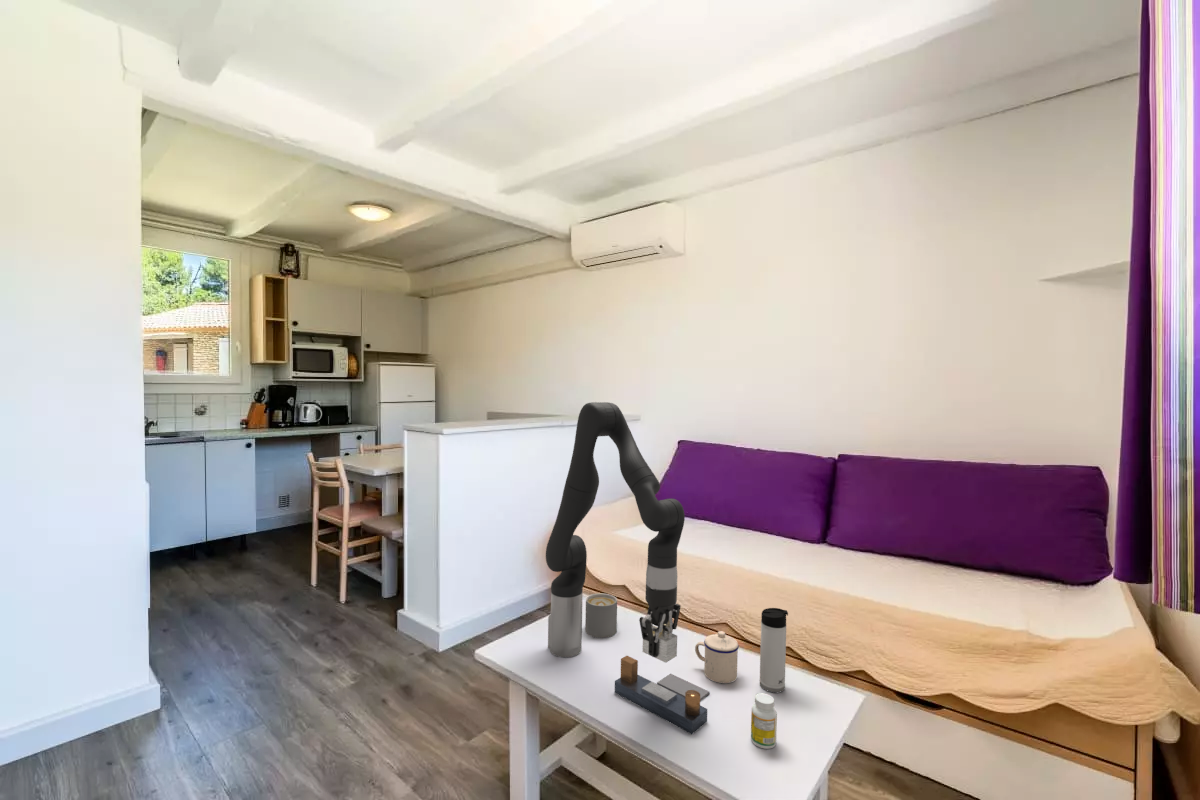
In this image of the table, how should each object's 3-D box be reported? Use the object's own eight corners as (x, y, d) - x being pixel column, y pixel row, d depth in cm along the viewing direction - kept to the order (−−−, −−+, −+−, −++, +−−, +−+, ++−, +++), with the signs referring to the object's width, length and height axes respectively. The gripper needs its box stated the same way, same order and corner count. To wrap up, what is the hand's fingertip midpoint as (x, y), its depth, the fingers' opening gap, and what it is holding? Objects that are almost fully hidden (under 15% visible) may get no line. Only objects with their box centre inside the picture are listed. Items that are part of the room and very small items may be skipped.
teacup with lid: (742, 673, 143) (743, 630, 143) (730, 688, 136) (731, 643, 136) (701, 659, 150) (702, 619, 150) (688, 673, 143) (688, 630, 143)
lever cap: (642, 651, 128) (643, 628, 128) (653, 645, 131) (654, 622, 131) (665, 662, 123) (666, 638, 123) (676, 656, 127) (677, 632, 126)
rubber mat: (657, 684, 137) (657, 682, 137) (670, 675, 141) (670, 673, 141) (696, 704, 129) (696, 701, 129) (709, 693, 133) (709, 691, 133)
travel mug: (787, 694, 134) (789, 616, 133) (760, 691, 135) (762, 614, 134) (784, 681, 140) (786, 606, 139) (758, 678, 141) (760, 604, 140)
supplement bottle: (770, 753, 112) (771, 708, 112) (746, 742, 115) (747, 698, 115) (780, 740, 116) (781, 697, 116) (756, 730, 119) (757, 688, 119)
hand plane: (614, 692, 133) (615, 661, 133) (630, 682, 138) (631, 652, 138) (691, 734, 117) (692, 699, 117) (707, 721, 122) (707, 687, 122)
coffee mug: (601, 641, 160) (601, 608, 160) (578, 630, 167) (579, 599, 167) (630, 627, 170) (630, 596, 169) (607, 617, 176) (608, 588, 176)
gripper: (666, 571, 135) (664, 636, 135) (630, 585, 124) (628, 657, 125) (691, 579, 130) (689, 647, 130) (656, 595, 119) (653, 669, 120)
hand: (659, 651), depth 127 cm, fingers closed on lever cap, 4 cm apart
